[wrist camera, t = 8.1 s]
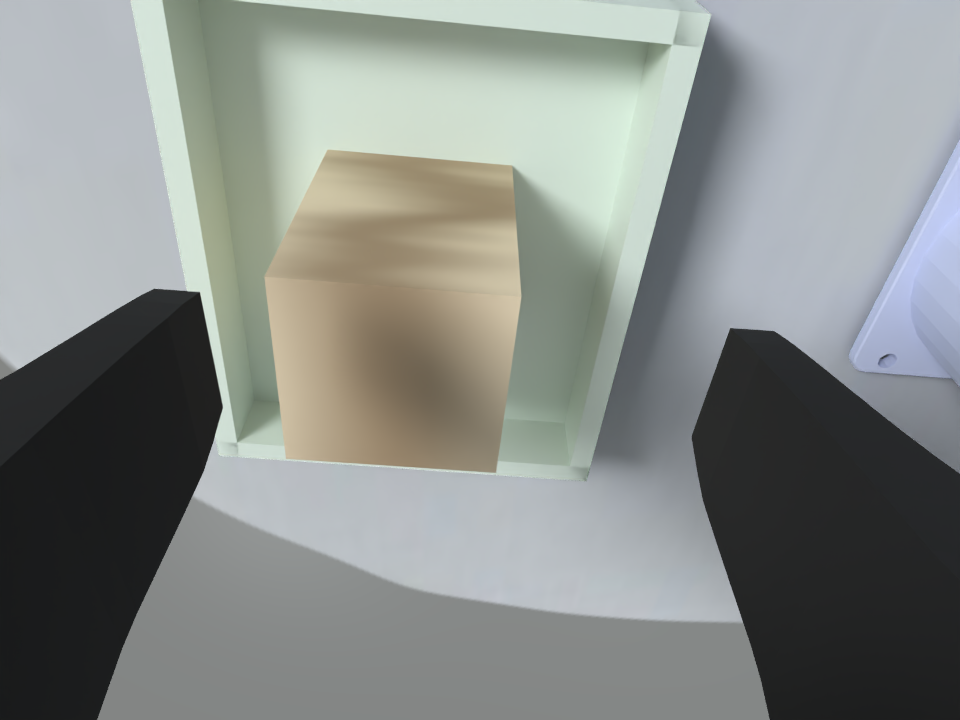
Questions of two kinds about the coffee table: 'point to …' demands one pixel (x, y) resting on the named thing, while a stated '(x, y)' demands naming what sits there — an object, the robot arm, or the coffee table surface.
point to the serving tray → (437, 135)
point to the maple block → (397, 312)
